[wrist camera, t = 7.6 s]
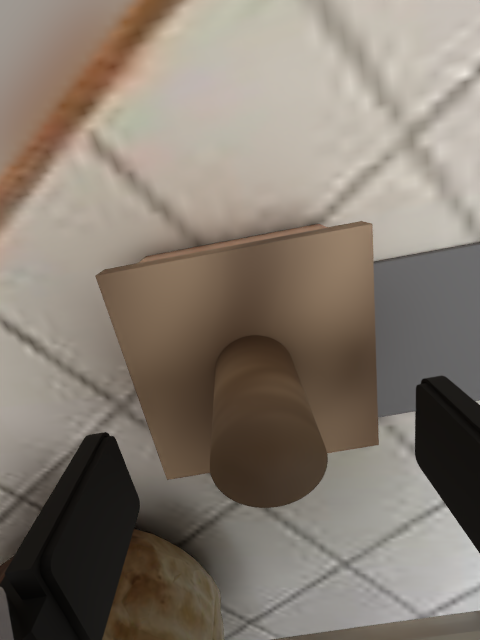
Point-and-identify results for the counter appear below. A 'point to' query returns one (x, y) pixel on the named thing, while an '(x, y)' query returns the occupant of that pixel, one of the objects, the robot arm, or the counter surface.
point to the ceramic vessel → (161, 595)
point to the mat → (426, 324)
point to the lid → (253, 358)
